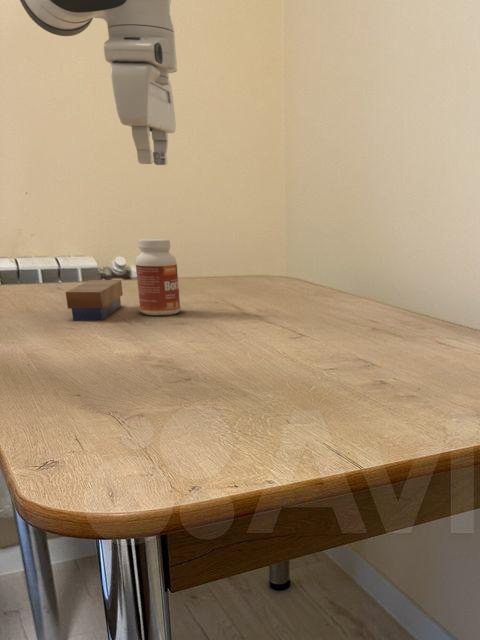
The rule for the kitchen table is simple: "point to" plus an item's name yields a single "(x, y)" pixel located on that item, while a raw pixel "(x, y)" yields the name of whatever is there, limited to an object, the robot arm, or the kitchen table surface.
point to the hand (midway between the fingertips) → (153, 164)
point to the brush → (94, 299)
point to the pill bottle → (157, 278)
